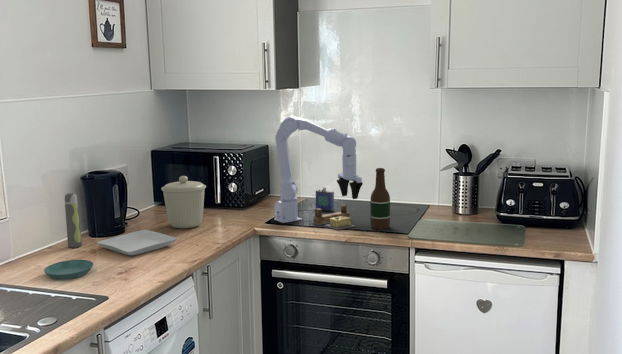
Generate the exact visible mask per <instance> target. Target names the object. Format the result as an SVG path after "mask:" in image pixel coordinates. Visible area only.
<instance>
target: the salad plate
mask: <svg viewBox="0 0 622 354" xmlns="http://www.w3.org/2000/svg"><path fill="white" fill-rule="evenodd" d="M177 240H178V238H177V237H174V236H173V235H168V234H164V233H160V232H157V231H153V230H150V229H149V230H148V229H141V230H136V231H133V232H129V233H126V234H125V233H124V234H122V235H118V236H114V237H111V238H107V239H106V238H105V239H103V240H99V241H97V242H96V243H97V245H99V246H100V247H102V248H104V249H108V250H110V251H114V252H117V253H120V254H123V255H126V256H133V257H134V256H137V255H141V254H145V253H149V252H153V251H156V250H159V249H162V248H165V247H168V246H171V245H172V244H174V243H176V242H177Z"/></svg>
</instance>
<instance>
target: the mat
mask: <svg viewBox="0 0 622 354" xmlns="http://www.w3.org/2000/svg"><path fill="white" fill-rule="evenodd" d="M324 227H326V228H330V229H332V230H335V231H340V230H347V229H351V228H356V225H354V224H351V225H350V226H344V227H339V228H336V227H333V226H330V223H327V224H324Z"/></svg>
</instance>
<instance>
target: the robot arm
mask: <svg viewBox="0 0 622 354" xmlns="http://www.w3.org/2000/svg"><path fill="white" fill-rule="evenodd" d="M304 130H305V131H308V132H311V133H314V134H316V135H319V136H321V137H323V138H324V140H325V142H327V143H330V144H332V145H335V146H336V147H339V148H340V147H341V149H342V160H341V161H342V173H341V172H340V173H337V178H338V179H337V180H336V182H337V184H338V187H339V190H340V193H341V196H342V197H347V196H348V192H349V191H348V190H349V187H350V190H351V191H350V192H351V197H352V199H353V200H358V198H359V193H360V190H361V189H362V186H363V185H364V184H363V179H362V177H361V176H359V174H357V153H356V152H357V150H356V147H357V140H356V138H355V137H354V136H353V135H349V134H348V133H343V132H341V131H339V130H338V128H335V127H334V128H331V127H330V128H324V127H322V126H321V125H318V124H316V123H314V122H313V121H310V120H308V119H306V118H303V117H298V116H296V115H290V116H289V117H286V118H285V119H284V120H283V121H281V123H280V125H279V127H278V129H277V131H276V134H275V138H274V140H275V144H276V152H277V157H278V158H277V160H278V165H279V167H278V168H279V171H280V189H279V195H280V200H277V201H275V202H274V218H273V219H274V220H275V221H277V222H279V223H281V224H284V223H291V222H298V221H302V220H303V218H301V217H299V214H298V213H299V212H298V210H299V209H298V206H299V205H298V204H299V203H298V202H299V201H298V197H297V196H296V195H297V193H298V186H297V184H296V183H295V179H294V176H293V171H292V170H293V169H292V164H291V156H290V150H289V143H288V139H289V138H290V136H291V135H292V134H293V133H295V132H296V131H304Z"/></svg>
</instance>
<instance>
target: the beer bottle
mask: <svg viewBox="0 0 622 354" xmlns="http://www.w3.org/2000/svg"><path fill="white" fill-rule="evenodd" d="M385 173H386V170H385V168H383V167H378V168H376V169H375V185H374V188H373V190H372V192H371V193H370V210H369V211H370V228H371V229H373V230H378V231H379V230H381V231H382V230H387V229H389V228H390V227H391V196H390V193H389V191H388V190H387V188H386V181H385V180H386V179H385V177H386V175H385Z"/></svg>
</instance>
